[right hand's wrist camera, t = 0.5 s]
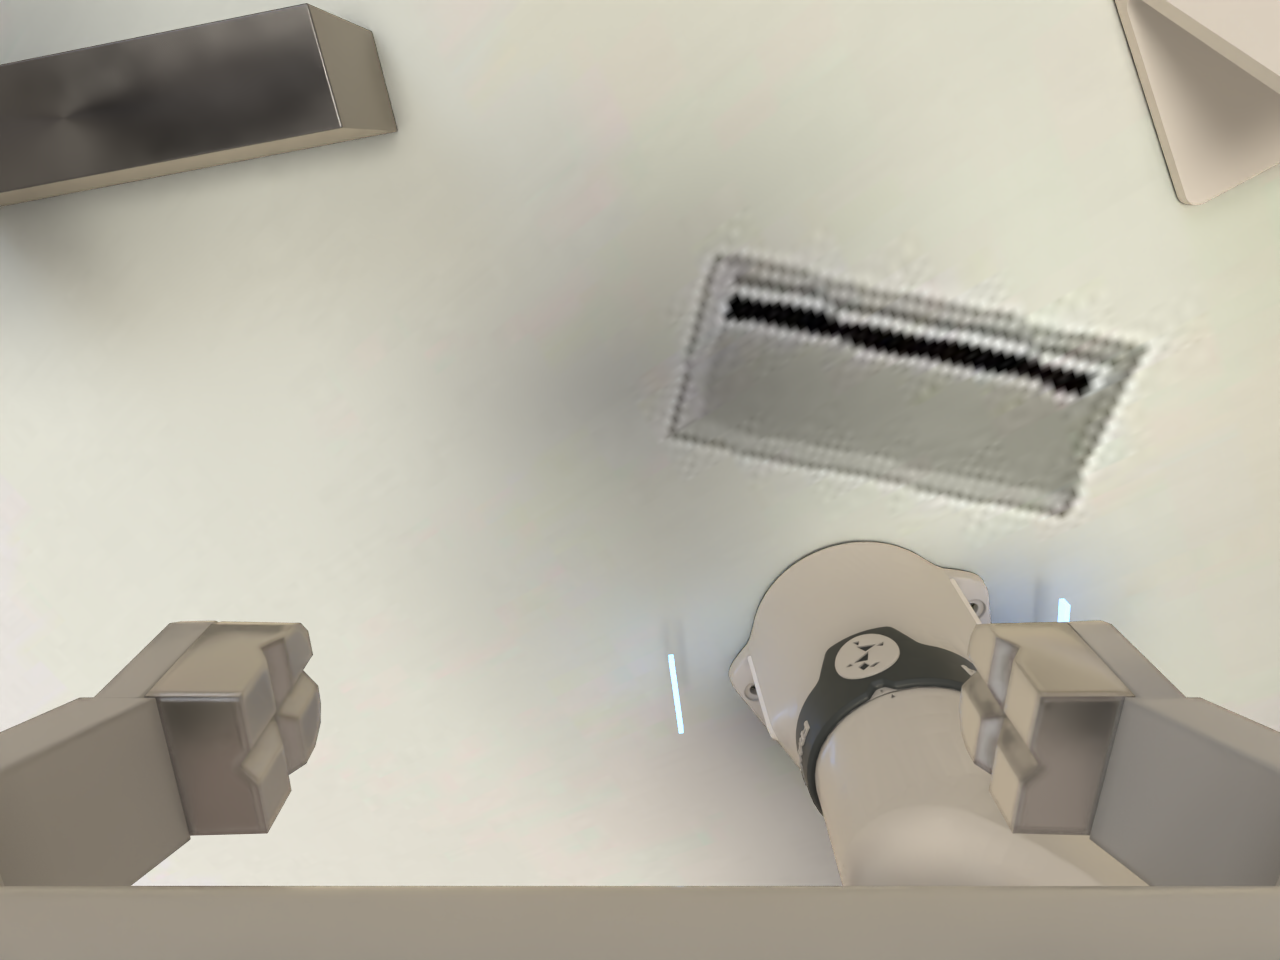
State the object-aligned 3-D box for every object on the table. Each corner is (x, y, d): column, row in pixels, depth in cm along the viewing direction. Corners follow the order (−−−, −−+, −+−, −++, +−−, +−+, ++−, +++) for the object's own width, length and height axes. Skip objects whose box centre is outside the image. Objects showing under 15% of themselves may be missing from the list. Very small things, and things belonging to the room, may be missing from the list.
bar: (372, 30, 45) (307, 2, 36) (397, 131, 47) (342, 127, 38) (-57, 115, 47) (-218, 108, 38) (-16, 209, 48) (-160, 223, 40)
